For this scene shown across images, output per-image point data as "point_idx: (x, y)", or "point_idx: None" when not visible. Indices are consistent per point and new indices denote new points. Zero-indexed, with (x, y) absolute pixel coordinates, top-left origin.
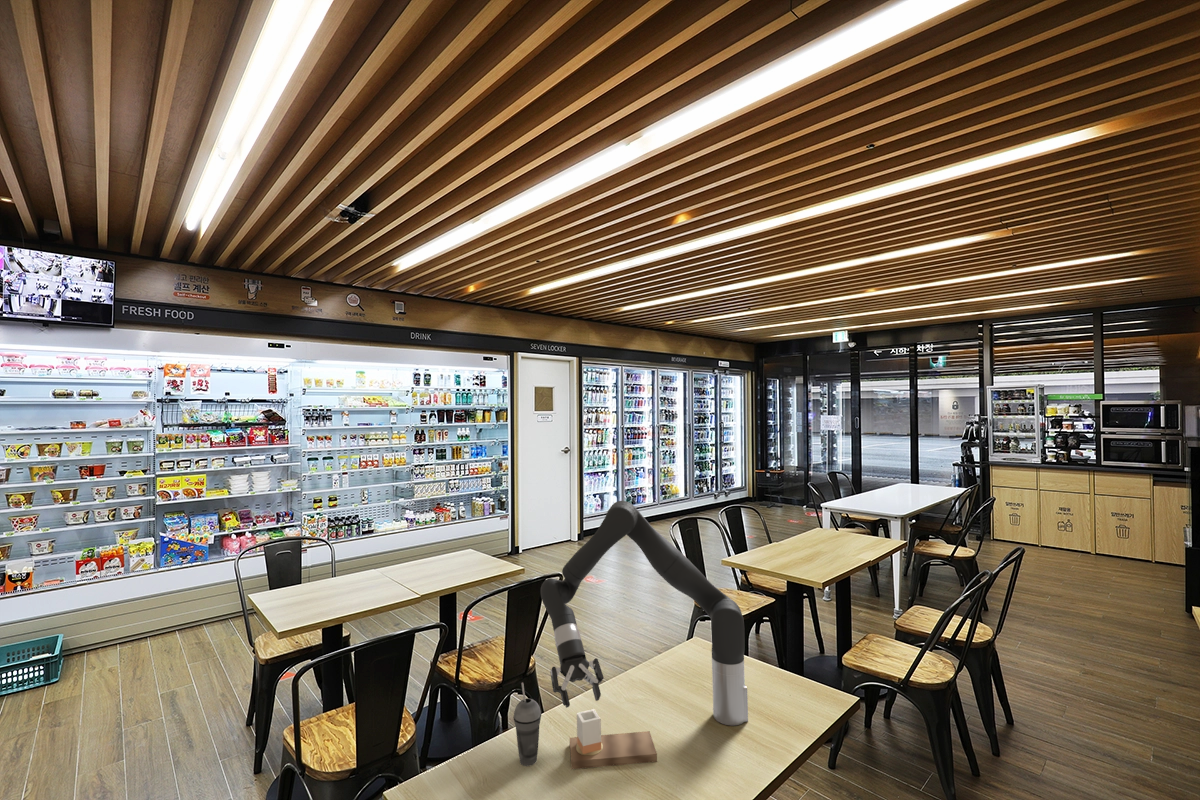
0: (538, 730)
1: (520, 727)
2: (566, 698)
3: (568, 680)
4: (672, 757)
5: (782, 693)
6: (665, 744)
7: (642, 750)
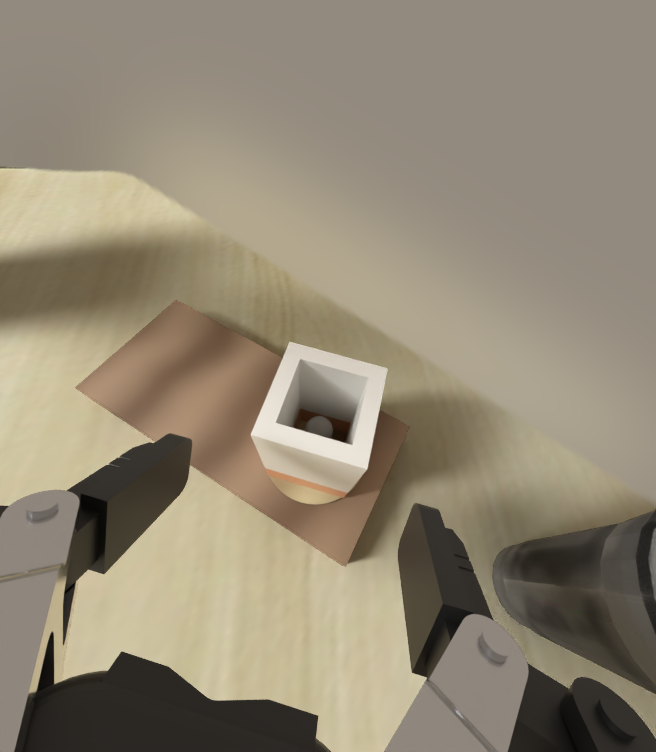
0: (585, 542)
1: None
2: (446, 540)
3: (433, 696)
4: (138, 303)
5: None
6: (91, 349)
7: (192, 331)
